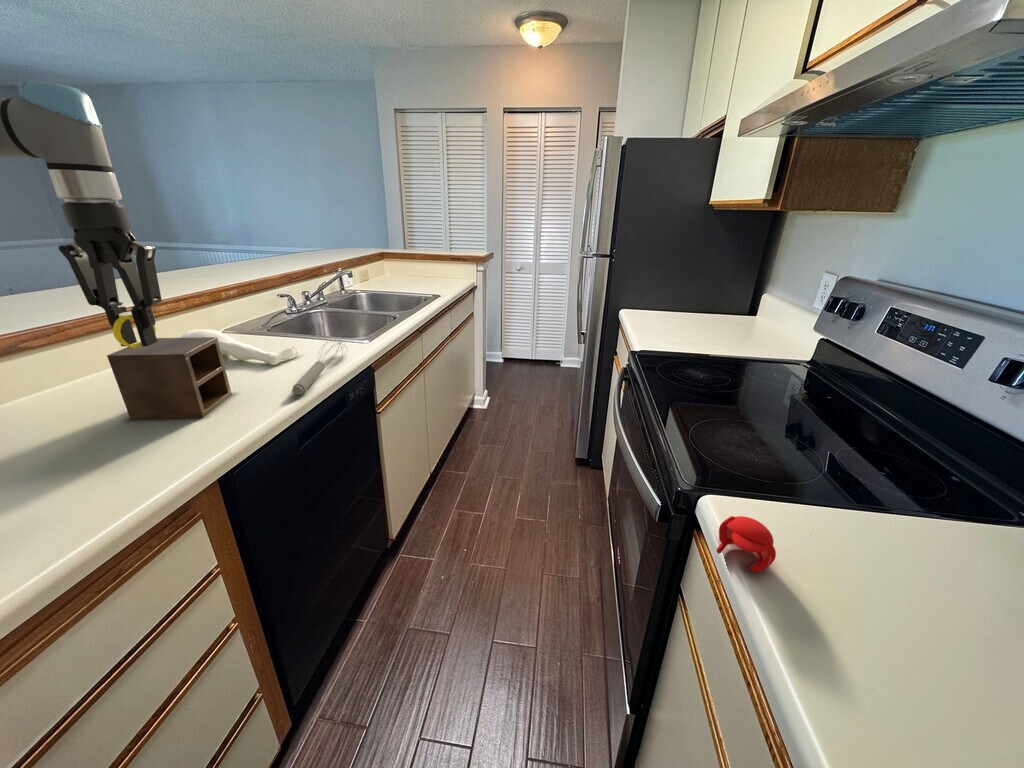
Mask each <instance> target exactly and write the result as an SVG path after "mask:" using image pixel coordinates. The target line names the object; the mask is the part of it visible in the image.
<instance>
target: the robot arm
mask: <svg viewBox="0 0 1024 768" xmlns="http://www.w3.org/2000/svg"><path fill="white" fill-rule="evenodd" d="M18 92H19V93H18V95H19V97H15V98H12V97H11V98H6V97H0V158H1V157H7V158H35V159H43V160H44V162H45V165H46V168H47V171H48V173H49V176H50V177H49V178H50V179H51V183H52V185H53V188H54V191H55V194H56V197H57V198H58V199H61V200H63V201H64V202H62V203H61V204H60V207H61V210H62V213H63V216H64V218H65V221H66V224H67V226H68V227H69V228H71V229H72V230H73V241H71V242H70V243H67V244H60V245H59V246H58V251H59V252H60V253H61V254H62V255H63V257H64V258H65V259H66V261H68V263H69V265H70V267H71V270H72V272H73V274H74V276H75V279H76V281H77V282H78V284H79V287H80V289H81V291H82V293H83V295H84V297H85V300H86V302H87V303H88V305H90V306H97V307H100V308H102V309H103V310H104V312H105V315H106V318H107V321H108V324H109V325H110V327H111V328H113V326H114V323H115V321H116V320H117V319H118V318H119V314H120V313H124V312H128V310H127V307H126V306H122V305H123V302H121V301H120V299H119V293H118V288H117V284H116V283H117V282H116V278H115V272H114V270H116V271H117V273H118V274H119V277H120V279H121V281H122V284H123V285H124V287H125V289H126V291H127V293H128V296H129V297H130V300H131V302H132V305H133V306H131V309H130V312H131V313H132V316H133V322H134V325H135V328H136V331H137V334H138V337H139V340H140V342H141V343H142V346H149V345H151V344H154V343H156V342H158V341H157V338H158V337H157V336H156V335H155V332H154V329H153V325H154V326H155V325H156V319H155V317H154V313H153V309H152V307H153V306H155V305H157V304H160V303H162V301H163V299H162V295H161V289H160V284H159V278H158V274H157V269H156V268H157V267H156V262H155V257H156V252H157V250H156V247H155V246H154V245H152V244H149V245H146V244H143V243H142V242H139V241H138V240H137V238H136V237H135V236H134V235H133V234H132V231H131V221H130V218H129V214H128V211H127V208H126V206H125V205H124V204H123V203H120V201H121V200H122V199H123V195H122V192H121V189H120V185H119V183H118V179H117V176H116V173H115V169H114V168H113V164H112V161H111V158H110V154H109V150H108V147H107V143H106V140H105V136H104V133H103V129H102V128H103V125H102V124H101V122H100V120H99V116H98V115H97V112H96V109H95V107H94V103H93V101H92V99H91V97H90V96H89V95H88V94H87V93H86V92H85V91H83V90H81V89H78V88H77V87H73V86H70V85H66V84H61V83H56V82H49V81H41V80H22V81H20V82H19V83H18ZM133 255H134V256H135V258H134V256H133ZM120 332H121V335H122V339H124V340H125V341H126V342H127V343H128V344H130V345H133V344H136V343H138V340H137V337H136V334H135V331H134V328H133V325H132V321H131V319H126V320H125V322H124V323H123V324H122V326H121V330H120ZM120 347H125V346H124V345H122V344H120Z"/></svg>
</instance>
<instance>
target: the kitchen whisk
mask: <svg viewBox="0 0 1024 768" xmlns="http://www.w3.org/2000/svg"><path fill="white" fill-rule="evenodd" d="M331 339H332V337H330V338H329V339H327V340H326V341H325V343H324V344H323V346H321V347H320V349H319V351H318V354H317V358H316V360H317V361H316V362H314V363H313V365H312V366H311V367H310V368H309V369H308V370H307V371H306V372H305V373H304V374H303V375H302V376H301V377H300V378H299V379H298V381H297V382H296V383H295V384H294V385H293V386H292V390H291V394H292V396H293V397H294V398H300V397H301V396H302V395H303V394H304V393H305V392H306V391H307V390H308V389H309V387H310V386H311V385H312V384H313V383H314V382H315V381H316V379H317V378H318V377H319V376H320V374H322V372H323V371H324V370H325V368H327V367H331V366H333V365H335V364H337V363H338V362H339V361H340V360H341V359H342V358H343V357H344V356H345V355H346V354H347V353H348V350H349V349H348V348H347V346H346V344H347V342H344V341H342V338H341V337H340V336H339V337H338V338H335V341H334V343H333V340H331ZM330 340H331V341H330ZM338 340H339V341H338ZM341 341H342V342H341ZM328 343H332V345H331V346H330V348H329V349H327V350H326V351H325V352H324V353H323V351H324V348H325V346H326V344H328ZM335 343H336V344H335ZM343 343H344V344H343ZM337 345H338V347H337V350H336V352H335V353H334V354H332V356H331V357H330V358H328V359H327V360H326V361H325V362H323V361H324V359H325V358H326V357H327V354H328V353H329V352H330V351H331V349H332V348H334V347H335V346H337ZM339 347H340V349H339ZM344 347H345V348H346V352H345V353H344V350H343V348H344ZM340 351H342V352H341V357H339V358H337V359H335V360H334V361H332V360H333V358H334V357H335V356H336V354H337V353H339V352H340ZM319 355H320V357H319ZM323 356H324V357H323ZM322 358H323V359H322ZM295 395H296V396H295Z"/></svg>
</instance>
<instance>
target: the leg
mask: <svg viewBox="0 0 1024 768" xmlns="http://www.w3.org/2000/svg"><path fill="white" fill-rule="evenodd" d="M201 337H217V339H218V343H219V347H220V351H221V355H230V356H231V357H232V358H233V359H236V360H240V361H248V360H249V361H250V360H254V361H259V362H264V363H266V364H268V365H270V366H271V365H272V366H277V365H278V364H279V362H281V361H286V360H293V359H295V358H296V357H299V356H300V352H299V350H298V348H296V347H295V346H287V347H286V348H283V349H281V350H278V351H276V352H267V351H265V350H262V349H260V348H257V347H255V346H252V345H250V344H247V343H245V342H239V341H237V340H235V339H234V338H232V337H230V336H229V335H227V334H226V333H225V334H224V333H223V332H220V331H217V330H214V329H191V330H188V331H186V332H185V333H183V334H182V335H181V336H180V338H201Z"/></svg>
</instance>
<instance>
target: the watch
mask: <svg viewBox="0 0 1024 768" xmlns="http://www.w3.org/2000/svg"><path fill="white" fill-rule="evenodd" d="M126 319H130V320H132V319H133V316H132V313H131V311H127V312H124V313H120V314H119V318H118V319H117V320H116V321H115V323H114V326H113V327H112V333H113V336H114V338H115V340H116V341H117V342H118V344H120V345H121V344H122V345H124V346H123V347H126V348H127V347H131V348H136V347H139V346H142V343H141V341H139V342H136V343H134V344H131V345H130V344H128V343H127V342H126V341H125V340H124V339H122V335H121V332H120V330H121V326H122V324H123V323H124V322H125V320H126ZM133 320H134V319H133ZM153 329H154V332H155V335H156V334H157V333H156V331H157V329H156V326H155V325H153Z"/></svg>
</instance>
